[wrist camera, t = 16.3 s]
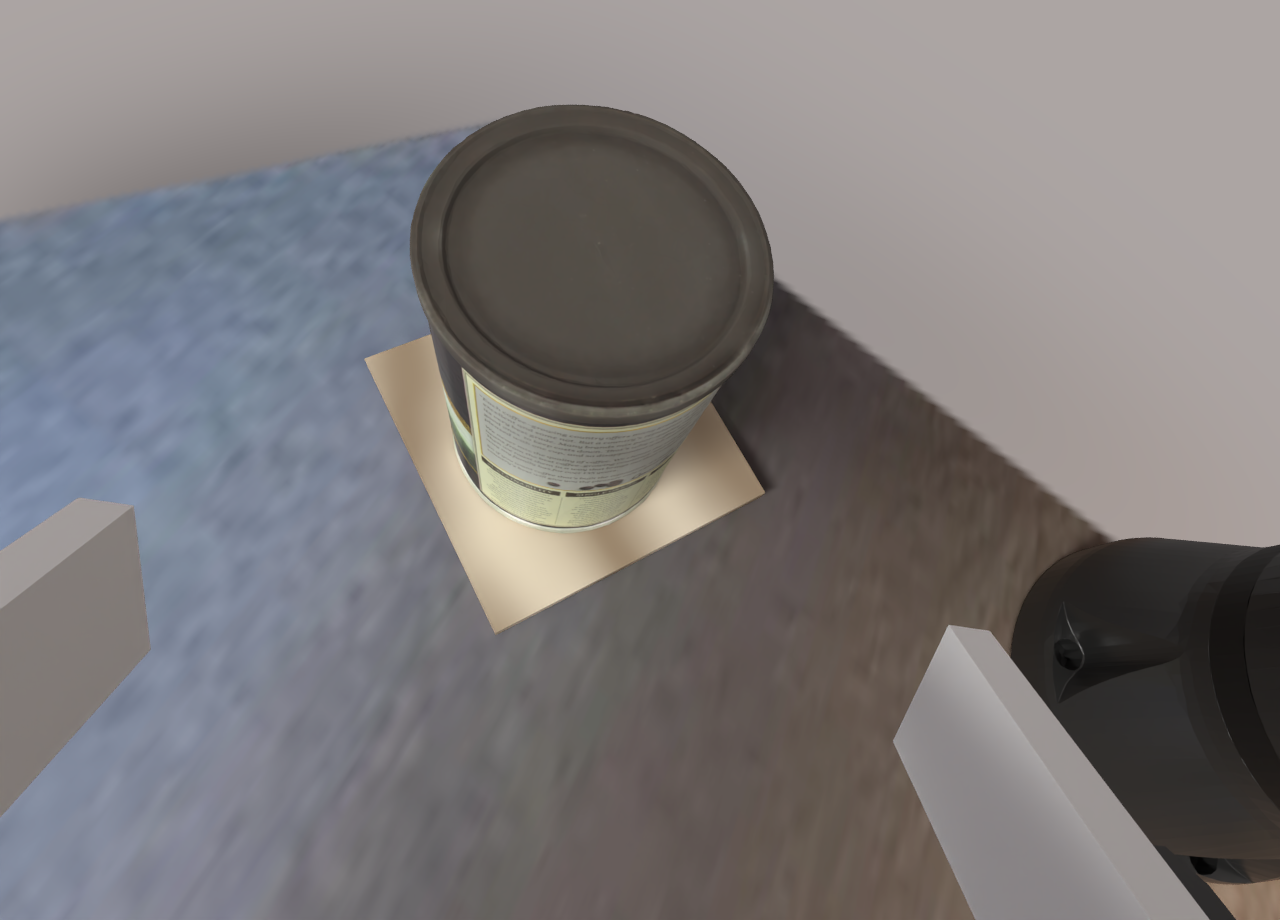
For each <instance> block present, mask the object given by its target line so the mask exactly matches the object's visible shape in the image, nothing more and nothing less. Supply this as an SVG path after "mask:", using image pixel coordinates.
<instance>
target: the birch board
mask: <svg viewBox="0 0 1280 920" xmlns="http://www.w3.org/2000/svg"><path fill="white" fill-rule="evenodd" d="M365 361H366V364H367V366H368V368H369V370H370V372H371V374H372V376H373V379H374V381H375V383H376V385H377V387H378V389H379V391H380V393H381V395H382V397H383V400H384V402H385V404H386V406H387V408H388V410H389V412H390V414H391V416H392V418H393V421H394V423H395V425H396V427H397V429H398V431H399V433H400V435H401V437H402V439H403V442H404V444H405V446H406V448H407V450H408V452H409V454H410V456H411V458H412V460H413V463H414V465H415V467H416V469H417V471H418V473H419V475H420V477H421V479H422V481H423V483H424V486H425V488H426V490H427V492H428V494H429V496H430V498H431V500H432V502H433V504H434V507H435V509H436V511H437V513H438V515H439V517H440V519H441V521H442V523H443V525H444V528H445V530H446V532H447V534H448V536H449V538H450V540H451V542H452V544H453V546H454V549H455V551H456V553H457V555H458V557H459V559H460V561H461V563H462V565H463V567H464V570H465V572H466V574H467V576H468V578H469V580H470V582H471V584H472V586H473V588H474V591H475V593H476V595H477V597H478V599H479V601H480V603H481V605H482V607H483V609H484V611H485V614H486V616H487V618H488V620H489V622H490V624H491V626H492V628H493V630H494V632H495V635H497V634H499V633H501V632H503V631H505V630H507V629H508V628H510V627H512V626H514V625H516V624H518V623H520V622H522V621H524V620H526V619H528V618H530V617H531V616H533V615H535V614H537V613H539V612H541V611H543V610H545V609H547V608H549V607H551V606H553V605H554V604H556V603H558V602H560V601H562V600H564V599H566V598H568V597H570V596H572V595H574V594H576V593H578V592H579V591H581V590H583V589H585V588H587V587H589V586H591V585H593V584H595V583H597V582H599V581H601V580H602V579H604V578H606V577H608V576H610V575H612V574H614V573H616V572H618V571H620V570H622V569H624V568H625V567H627V566H629V565H631V564H633V563H635V562H637V561H639V560H641V559H643V558H645V557H647V556H648V555H650V554H652V553H654V552H656V551H658V550H660V549H662V548H664V547H666V546H668V545H670V544H671V543H673V542H675V541H677V540H679V539H681V538H683V537H685V536H687V535H689V534H691V533H693V532H694V531H696V530H698V529H700V528H702V527H704V526H706V525H708V524H710V523H712V522H714V521H716V520H717V519H719V518H721V517H723V516H725V515H727V514H729V513H731V512H733V511H735V510H737V509H739V508H740V507H742V506H744V505H746V504H748V503H750V502H752V501H754V500H756V499H758V498H760V497H761V496H762V495H763V494H764V493H765V491H764V490H763V488H762V486H761V485H760V483H759V481H758V480H757V478H756V476H755V475H754V473H753V471H752V470H751V468H750V466H749V465H748V463H747V461H746V460H745V458H744V456H743V454H742V453H741V451H740V449H739V448H738V446H737V444H736V443H735V441H734V439H733V438H732V436H731V434H730V433H729V431H728V429H727V428H726V426H725V424H724V423H723V421H722V419H721V418H720V416H719V414H718V413H717V411H716V409H715V408H714V406H713V404H712V403H711V402H710V403H709V405H708V406H707V408H706V409H705V410H704V412H703V413H702V415H701V416H700V418H699V420H698V421H697V423H696V424H695V426H694V427H693V428H692V430H691V431H690V433H689V434H688V436H687V438H686V439H685V441H684V442H683V443H682V445H681V446H680V447H679V449H678V450H677V452H676V453H675V455H674V456H673V458H672V459H671V461H670V462H669V463H668V465H667V467H666V468H665V470H664V472H663V474H662V476H661V478H660V480H659V482H658V484H657V485H656V487H655V488H654V489H653V490H652V492H651V493H650V494H649V496H648V497H647V498H646V500H645V501H644V502H643V503H641V504H640V505H639V506H638V507H636V508H635V509H634V510H633V511H631V512H630V513H629V514H627V515H626V516H624V517H622V518H621V519H619V520H617V521H615V522H613V523H611V524H609V525H606V526H603V527H600V528H597V529H594V530H589V531H583V532H576V533H554V532H547V531H542V530H537V529H533V528H530V527H527V526H524V525H521V524H519V523H517V522H514V521H512V520H510V519H508V518H507V517H505V516H503V515H502V514H500V513H499V512H497V511H496V510H495V509H493V508H492V507H491V506H489V505H488V504H487V503H486V502H485V501H484V500H483V499H482V498H481V497H480V496H479V495H478V493H477V492H476V491H475V490H474V488H473V487H472V486H471V484H470V483H469V481H468V480H467V478H466V476H465V475H464V473H463V471H462V469H461V466H460V464H459V461H458V458H457V455H456V452H455V448H454V442H453V432H452V428H451V422H450V418H449V413H448V408H447V404H446V399H445V394H444V390H443V385H442V381H441V376H440V372H439V368H438V363H437V359H436V354H435V350H434V345H433V340H432V336H431V334H430V335H427V336H425V337H422V338H419V339H417V340H414V341H411V342H409V343H406V344H403V345H400V346H398V347H395V348H392V349H390V350H387V351H384V352H381V353H379V354H376V355H373V356H371V357H368V358H365Z"/></svg>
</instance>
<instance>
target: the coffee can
mask: <svg viewBox="0 0 1280 920" xmlns="http://www.w3.org/2000/svg"><path fill="white" fill-rule="evenodd" d="M410 259H411V267H412V273H413V277H414V281H415V285H416V290H417V294H418V297H419V300H420V303H421V306H422V308H423V311H424V313H425V315H426V317H427V319H428V322H429V327H430V332H431V336H432V340H433V345H434V350H435V354H436V359H437V363H438V368H439V372H440V376H441V381H442V385H443V390H444V394H445V399H446V404H447V408H448V413H449V418H450V422H451V428H452V432H453V442H454V448H455V452H456V455H457V458H458V461H459V464H460V466H461V469H462V471H463V473H464V475H465V476H466V478H467V480H468V481H469V483H470V484H471V486H472V487H473V488H474V490H475V491H476V492H477V493H478V495H479V496H480V497H481V498H482V499H483V500H484V501H485V502H486V503H487V504H488V505H489V506H491V507H492V508H493V509H495V510H496V511H497V512H499V513H500V514H502V515H503V516H505V517H507V518H508V519H510V520H512V521H514V522H517V523H519V524H521V525H524V526H527V527H530V528H533V529H537V530H542V531H547V532H554V533H576V532H583V531H589V530H594V529H597V528H600V527H603V526H606V525H609V524H611V523H613V522H615V521H617V520H619V519H621V518H622V517H624V516H626V515H627V514H629V513H630V512H631V511H633V510H634V509H635V508H636V507H638V506H639V505H640V504H641V503H643V502H644V501H645V500H646V498H647V497H648V496H649V494H650V493H651V492H652V490H653V489H654V488H655V487H656V485H657V484H658V482H659V480H660V478H661V476H662V474H663V472H664V470H665V468H666V467H667V465H668V463H669V462H670V461H671V459H672V458H673V456H674V455H675V453H676V452H677V450H678V449H679V447H680V446H681V445H682V443H683V442H684V441H685V439H686V438H687V436H688V434H689V433H690V431H691V430H692V428H693V427H694V426H695V424H696V423H697V421H698V420H699V418H700V416H701V415H702V413H703V412H704V410H705V409H706V408H707V406H708V405H709V403H710V402H711V400H712V399H713V397H714V396H715V394H716V393H717V391H718V390H719V388H720V387H721V385H722V384H723V383H724V382H725V381H727V380H728V379H729V378H730V377H731V376H732V374H733V373H734V372H735V371H736V370H737V369H738V368H739V367H740V366H741V364H742V363H743V361H744V360H745V359H746V358H747V356H748V355H749V354H750V352H751V351H752V349H753V347H754V345H755V344H756V342H757V340H758V338H759V336H760V334H761V332H762V330H763V328H764V326H765V323H766V321H767V318H768V315H769V311H770V307H771V302H772V296H773V281H774V271H773V260H772V254H771V247H770V244H769V241H768V237H767V233H766V230H765V228H764V225H763V222H762V220H761V217H760V215H759V212H758V211H757V209H756V207H755V205H754V203H753V201H752V200H751V198H750V197H749V195H748V194H747V192H746V191H745V189H744V188H743V186H742V185H741V184H740V183H739V181H738V180H737V178H736V177H735V176H734V175H733V174H732V173H731V172H730V171H729V170H728V169H727V167H726V166H724V165H723V164H722V163H721V162H720V161H719V160H718V159H717V158H716V157H714V156H713V155H712V154H710V153H709V152H708V151H707V150H706V149H704V148H703V147H701V146H700V145H699V144H697V143H696V142H695V141H693V140H692V139H690V138H688V137H687V136H685V135H684V134H682V133H680V132H678V131H677V130H675V129H673V128H671V127H669V126H668V125H666V124H663V123H661V122H658V121H656V120H653V119H651V118H648V117H645V116H642V115H639V114H634V113H632V112H629V111H622V110H618V109H613V108H609V107H601V106H589V105H554V106H553V105H552V106H544V107H538V108H534V109H529V110H524V111H521V112H518V113H515V114H512V115H509V116H505V117H503V118H501V119H499V120H496V121H494V122H492V123H490V124H488V125H486V126H484V127H483V128H481V129H479V130H478V131H476V132H474V133H473V134H471V135H469V136H468V137H467V138H466V139H465V140H464V141H463V142H461V143H460V144H458V145H457V146H455V147H454V148H453V149H452V150H451V151H450V152H449V153H448V154H447V155H446V156H445V157H444V158H443V160H442V161H441V162H440V163H439V165H438V166H437V167H436V168H435V170H434V171H433V173H432V174H431V175H430V177H429V179H428V180H427V182H426V184H425V186H424V188H423V190H422V192H421V194H420V197H419V200H418V203H417V206H416V209H415V212H414V216H413V220H412V223H411V233H410Z"/></svg>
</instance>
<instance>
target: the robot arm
mask: <svg viewBox="0 0 1280 920" xmlns="http://www.w3.org/2000/svg"><path fill="white" fill-rule="evenodd" d="M150 650H151V648H150V640H149V631H148V623H147V614H146V606H145V597H144V589H143V581H142V572H141V564H140V555H139V547H138V538H137V530H136V521H135V513H134V506H132V505H125V504H118V503H112V502H105V501H98V500H91V499H84V498H77V499H76V500H74V501H73V502H72V503H70V504H69V505H67V506H66V507H64V508H63V509H61V510H60V511H58V512H57V513H55V514H54V515H52V516H51V517H49V518H48V519H47V520H45V521H44V522H42V523H41V524H39V525H38V526H36V527H35V528H33V529H32V530H30V531H29V532H27V533H26V534H25V535H23V536H22V537H20V538H19V539H17V540H16V541H14V542H13V543H11V544H10V545H8V546H7V547H5V548H4V549H3V550H1V551H0V817H1V816H2V815H3V814H4V813H5V812H6V810H7V809H8V808H9V807H10V806H11V805H12V804H13V803H14V801H15V800H16V799H17V798H18V797H19V796H20V795H21V794H22V793H23V791H24V790H25V789H26V788H27V787H28V786H29V785H30V784H31V782H32V781H33V780H34V779H35V778H36V777H37V776H38V775H39V774H40V772H41V771H42V770H43V769H44V768H45V767H46V766H47V765H48V764H49V762H50V761H51V760H52V759H53V758H54V757H55V756H56V755H57V753H58V752H59V751H60V750H61V749H62V748H63V747H64V746H65V745H66V743H67V742H68V741H69V740H70V739H71V738H72V737H73V736H74V734H75V733H76V732H77V731H78V730H79V729H80V728H81V727H82V726H83V724H84V723H85V722H86V721H87V720H88V719H89V718H90V717H91V715H92V714H93V713H94V712H95V711H96V710H97V709H98V708H99V707H100V705H101V704H102V703H103V702H104V701H105V700H106V699H107V698H108V696H109V695H110V694H111V693H112V692H113V691H114V690H115V689H116V688H117V686H118V685H119V684H120V683H121V682H122V681H123V680H124V679H125V677H126V676H127V675H128V674H129V673H130V672H131V671H132V670H133V669H134V667H135V666H136V665H137V664H138V663H139V662H140V661H141V660H142V658H143V657H144V656H145V655H146V654H147V653H148V652H149V651H150ZM893 743H894V745H895V747H896V749H897V751H898V753H899V756H900V758H901V760H902V762H903V764H904V766H905V769H906V771H907V773H908V775H909V777H910V779H911V782H912V784H913V786H914V788H915V790H916V792H917V794H918V797H919V799H920V801H921V803H922V805H923V807H924V810H925V812H926V814H927V816H928V818H929V820H930V823H931V825H932V827H933V829H934V831H935V833H936V836H937V838H938V840H939V842H940V844H941V846H942V848H943V851H944V853H945V855H946V857H947V859H948V861H949V864H950V866H951V868H952V870H953V872H954V874H955V877H956V879H957V881H958V883H959V885H960V887H961V890H962V892H963V894H964V896H965V898H966V900H967V902H968V905H969V907H970V909H971V911H972V913H973V915H974V918H975V920H1236V919H1235V918H1234V917H1233V915H1232V914H1231V913H1230V912H1229V910H1228V909H1227V908H1226V906H1225V905H1224V904H1223V903H1222V901H1221V900H1220V899H1219V898H1218V896H1217V895H1216V894H1215V893H1214V891H1213V890H1212V889H1211V888H1210V886H1209V885H1208V884H1207V883H1206V882H1209V883H1217V884H1250V883H1257V882H1265V881H1272V880H1279V879H1280V545H1276V546H1271V547H1266V548H1260V547H1250V546H1239V545H1229V544H1218V543H1207V542H1197V541H1186V540H1175V539H1164V538H1134V539H1133V538H1132V539H1124V540H1118V541H1115V542H1111V543H1107V544H1103V545H1099V546H1096V547H1092V548H1088V549H1084V550H1081V551H1078V552H1076V553H1073V554H1071V555H1069V556H1067V557H1065V558H1063V559H1062V560H1060V561H1058V562H1057V563H1056V564H1054V565H1053V566H1052V567H1051V568H1050V569H1048V570H1047V571H1046V572H1045V573H1044V574H1043V575H1042V576H1041V577H1040V579H1039V580H1038V581H1037V582H1036V584H1035V585H1034V586H1033V588H1032V589H1031V591H1030V592H1029V594H1028V596H1027V598H1026V600H1025V602H1024V604H1023V606H1022V608H1021V611H1020V613H1019V616H1018V620H1017V623H1016V627H1015V631H1014V636H1013V642H1012V651H1011V658H1010V657H1009V655H1008V654H1007V653H1006V652H1005V650H1004V649H1003V648H1002V646H1001V645H1000V644H999V642H998V641H997V640H996V638H995V637H994V636H993V634H992V633H991V632H990V631H987V630H980V629H974V628H967V627H960V626H953V625H948V627H947V629H946V631H945V634H944V636H943V638H942V640H941V642H940V644H939V646H938V648H937V650H936V652H935V654H934V657H933V659H932V661H931V663H930V665H929V667H928V669H927V671H926V673H925V675H924V677H923V679H922V682H921V684H920V686H919V688H918V690H917V692H916V694H915V696H914V698H913V700H912V702H911V705H910V707H909V709H908V711H907V713H906V715H905V717H904V719H903V721H902V723H901V725H900V727H899V730H898V732H897V734H896V736H895V738H894V740H893Z"/></svg>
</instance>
